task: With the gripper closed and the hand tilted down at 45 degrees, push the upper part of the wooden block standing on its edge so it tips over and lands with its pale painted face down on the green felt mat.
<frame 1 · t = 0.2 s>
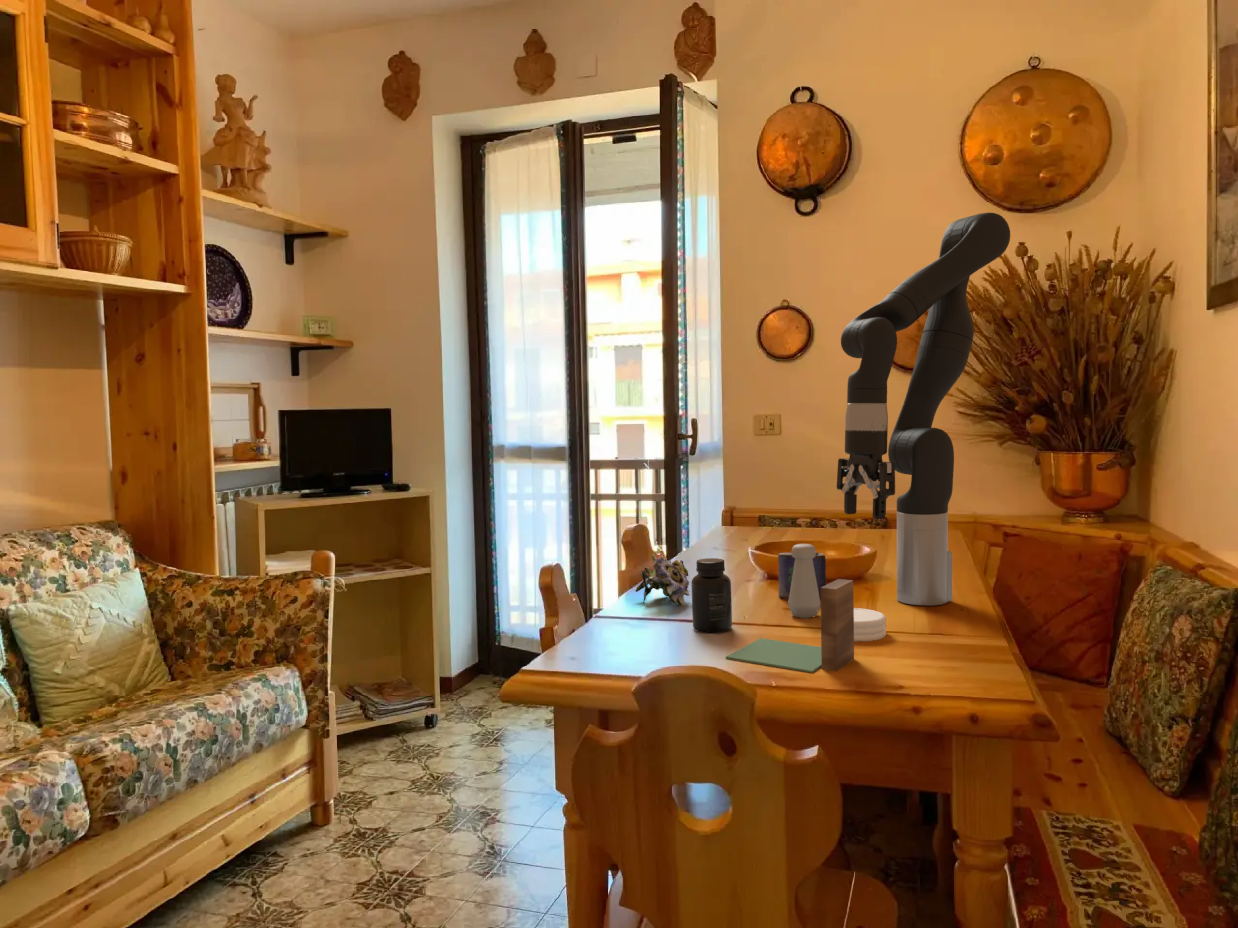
hand: (864, 516, 160), 17 cm above the table, tool pointing down, fingers open, 8 cm apart
supplement bottle: (712, 629, 150), on the table
felt mat: (784, 655, 134), on the table
wooden block: (838, 663, 129), on the table
salt shaker: (804, 616, 158), on the table
passion flower: (662, 604, 170), on the table
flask: (802, 599, 171), on the table
coaster: (854, 635, 145), on the table
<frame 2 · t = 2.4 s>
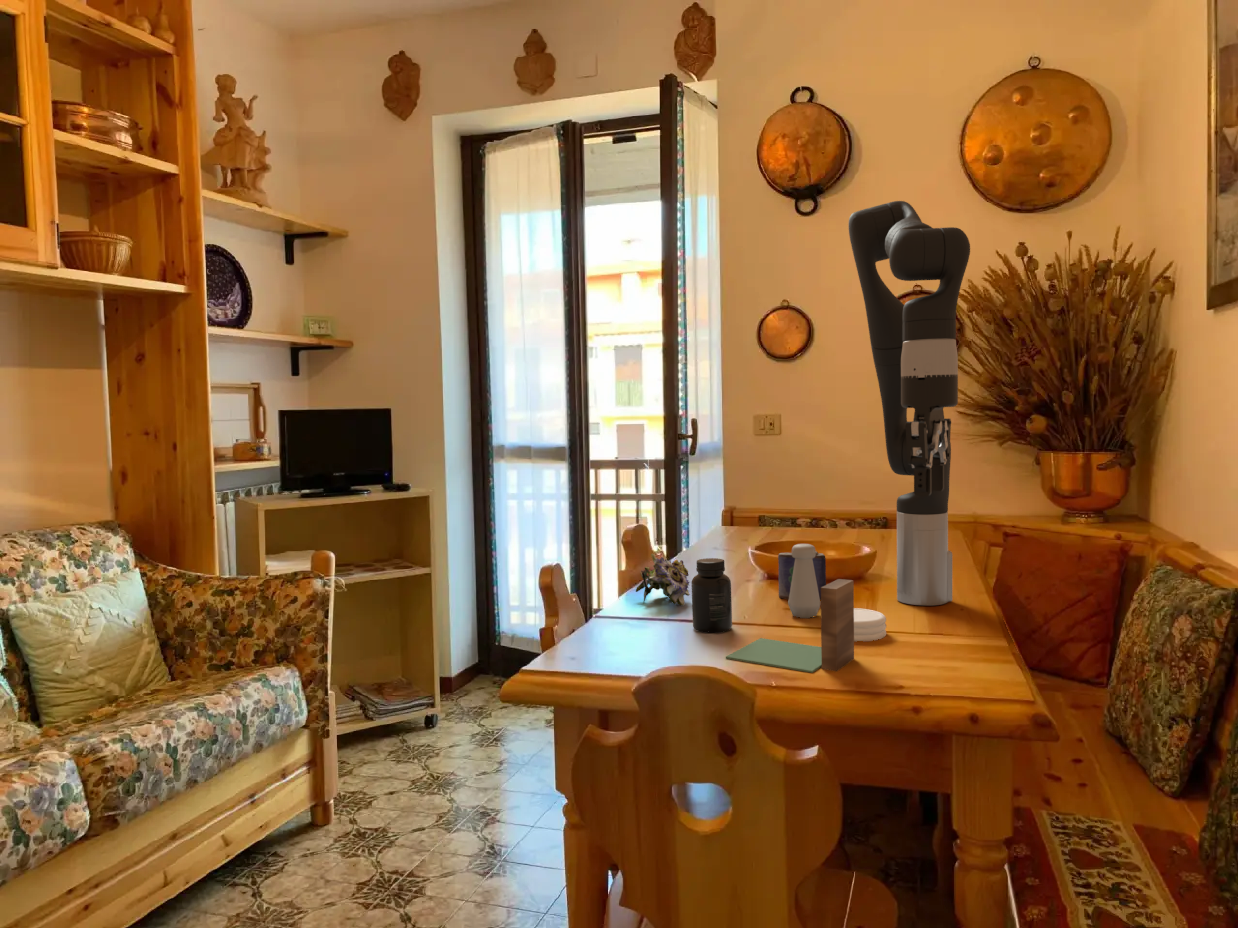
hand: (929, 492, 123), 26 cm above the table, tool pointing down, fingers open, 5 cm apart
nothing on the table moved.
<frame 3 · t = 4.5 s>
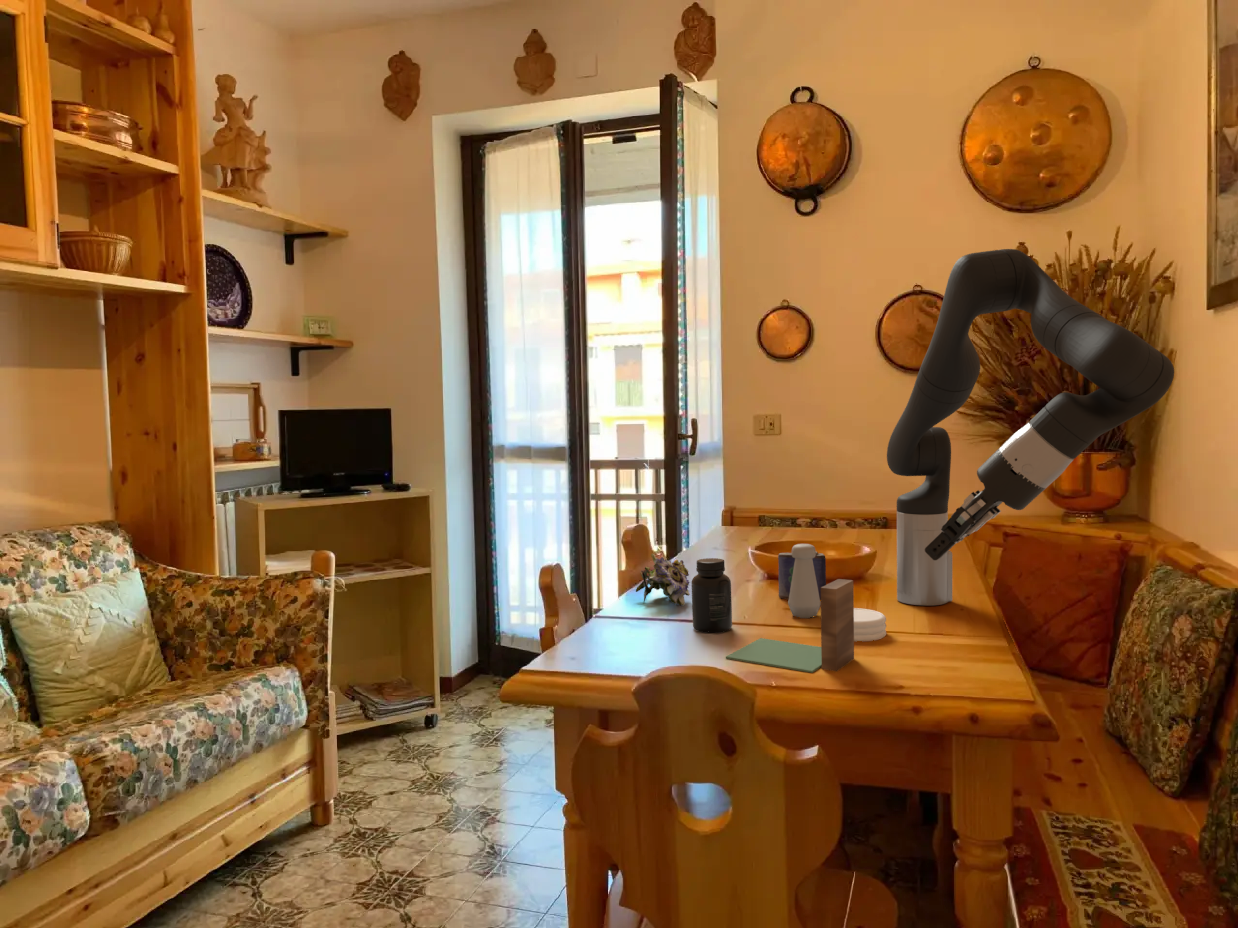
hand: (930, 554, 119), 17 cm above the table, tool tilted 45°, fingers closed
nothing on the table moved.
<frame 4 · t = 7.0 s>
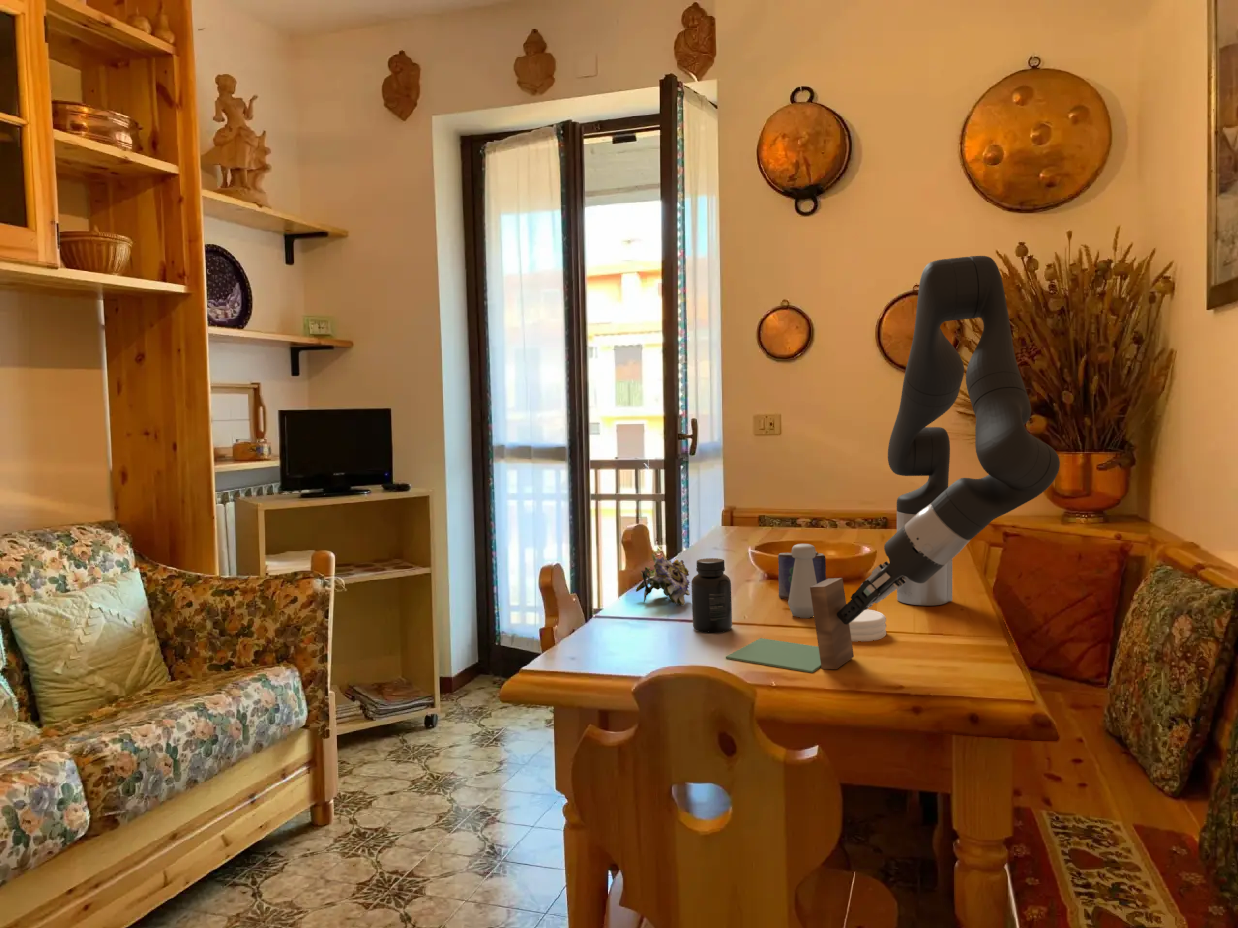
hand: (842, 618, 128), 7 cm above the table, tool tilted 45°, fingers closed
wooden block: (838, 662, 129), on the table, tilted 8°
everything else where it was.
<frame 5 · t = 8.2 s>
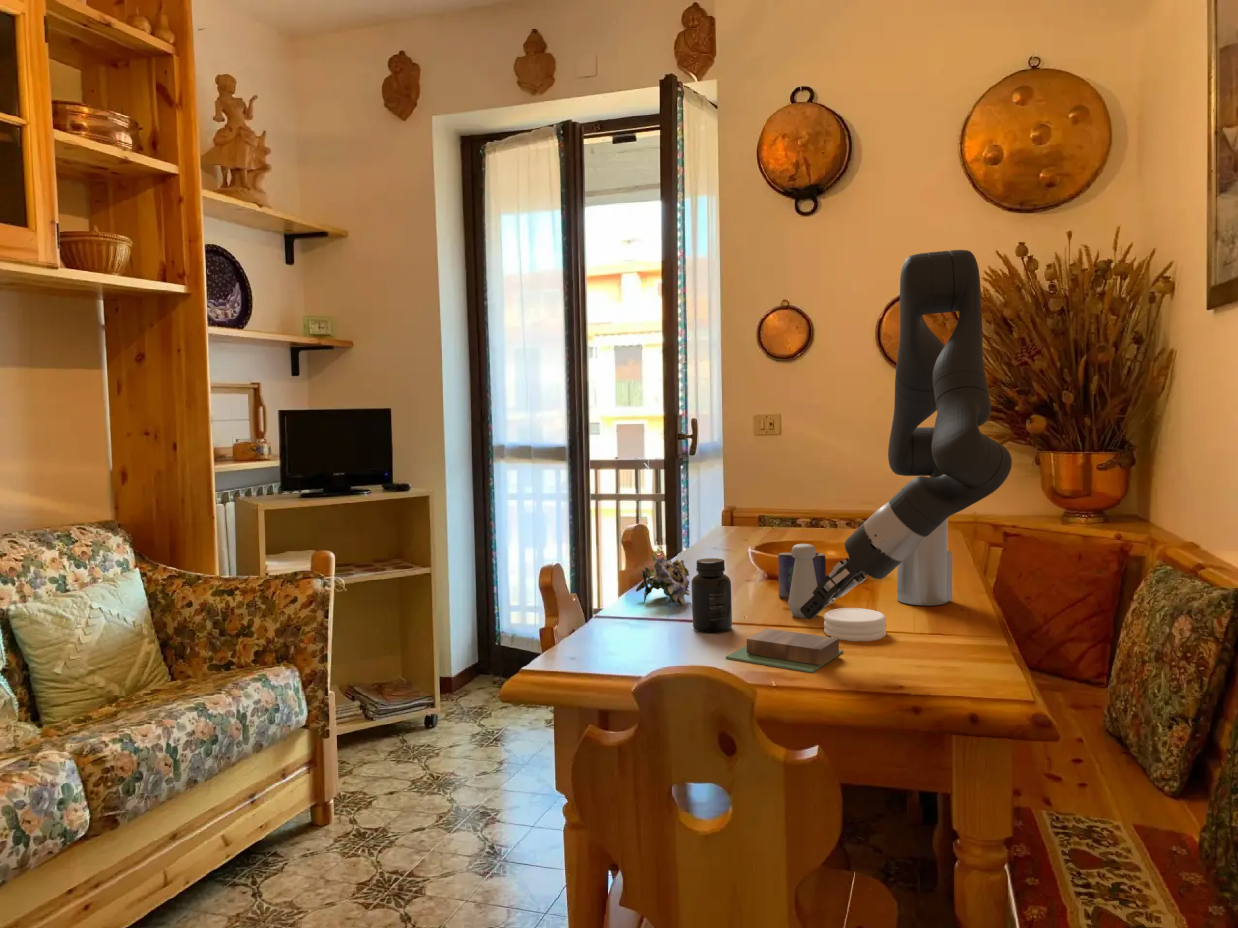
hand: (805, 613, 131), 7 cm above the table, tool tilted 45°, fingers closed
wooden block: (830, 651, 129), point 2 cm above the table, tilted 90°, touching felt mat
everything else where it was.
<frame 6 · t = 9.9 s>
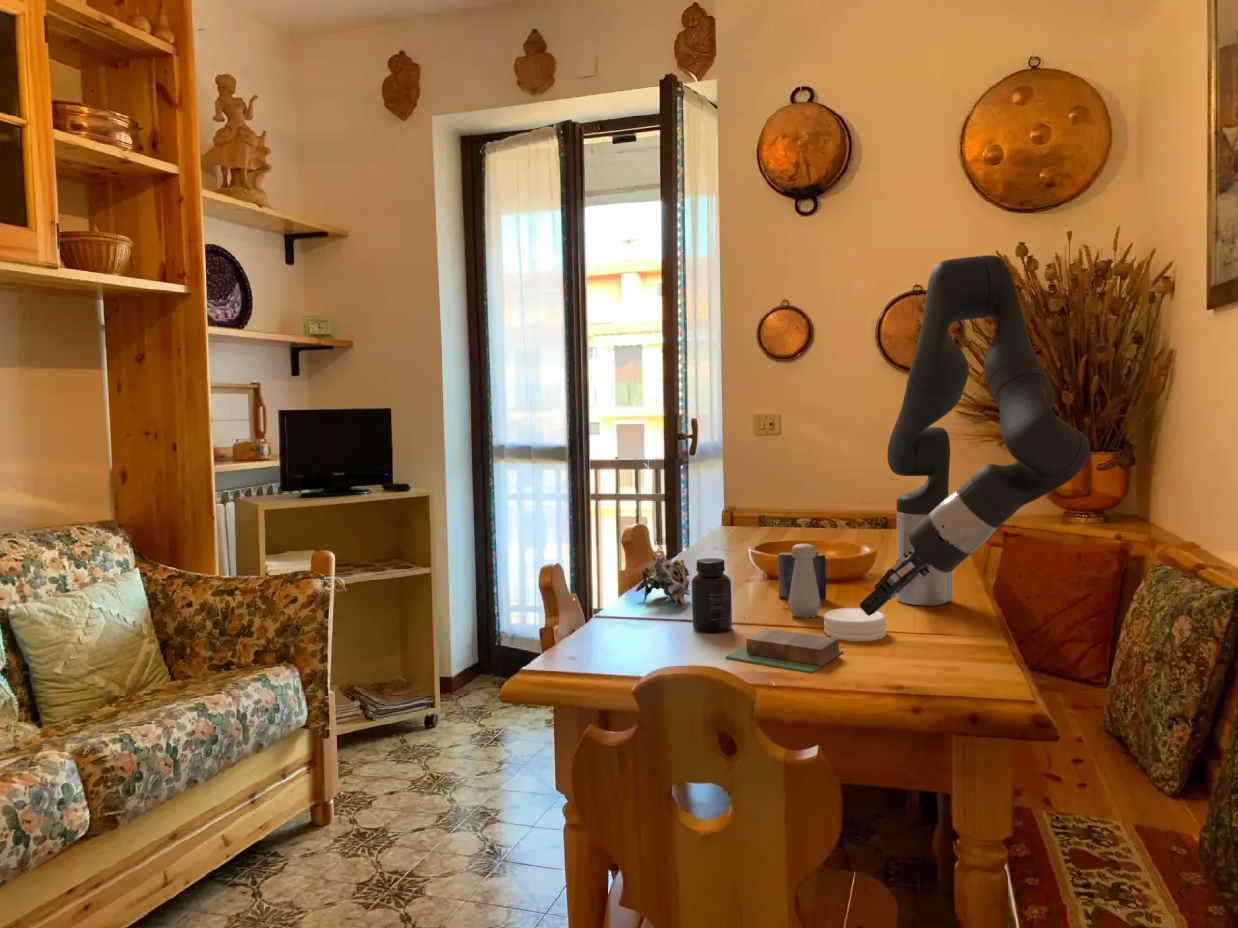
hand: (865, 609, 125), 9 cm above the table, tool tilted 45°, fingers closed
nothing on the table moved.
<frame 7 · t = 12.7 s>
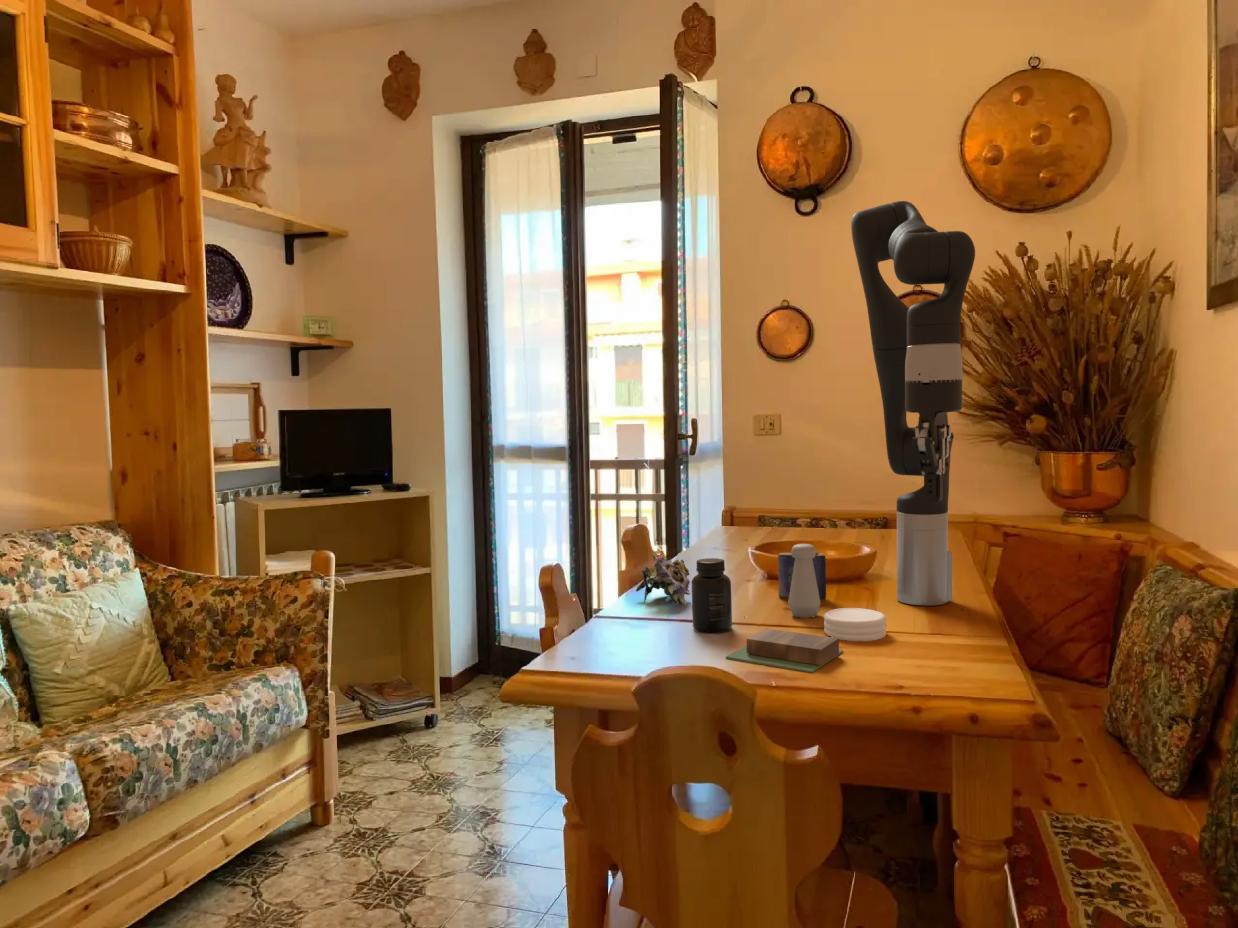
hand: (933, 500, 123), 24 cm above the table, tool pointing down, fingers closed
nothing on the table moved.
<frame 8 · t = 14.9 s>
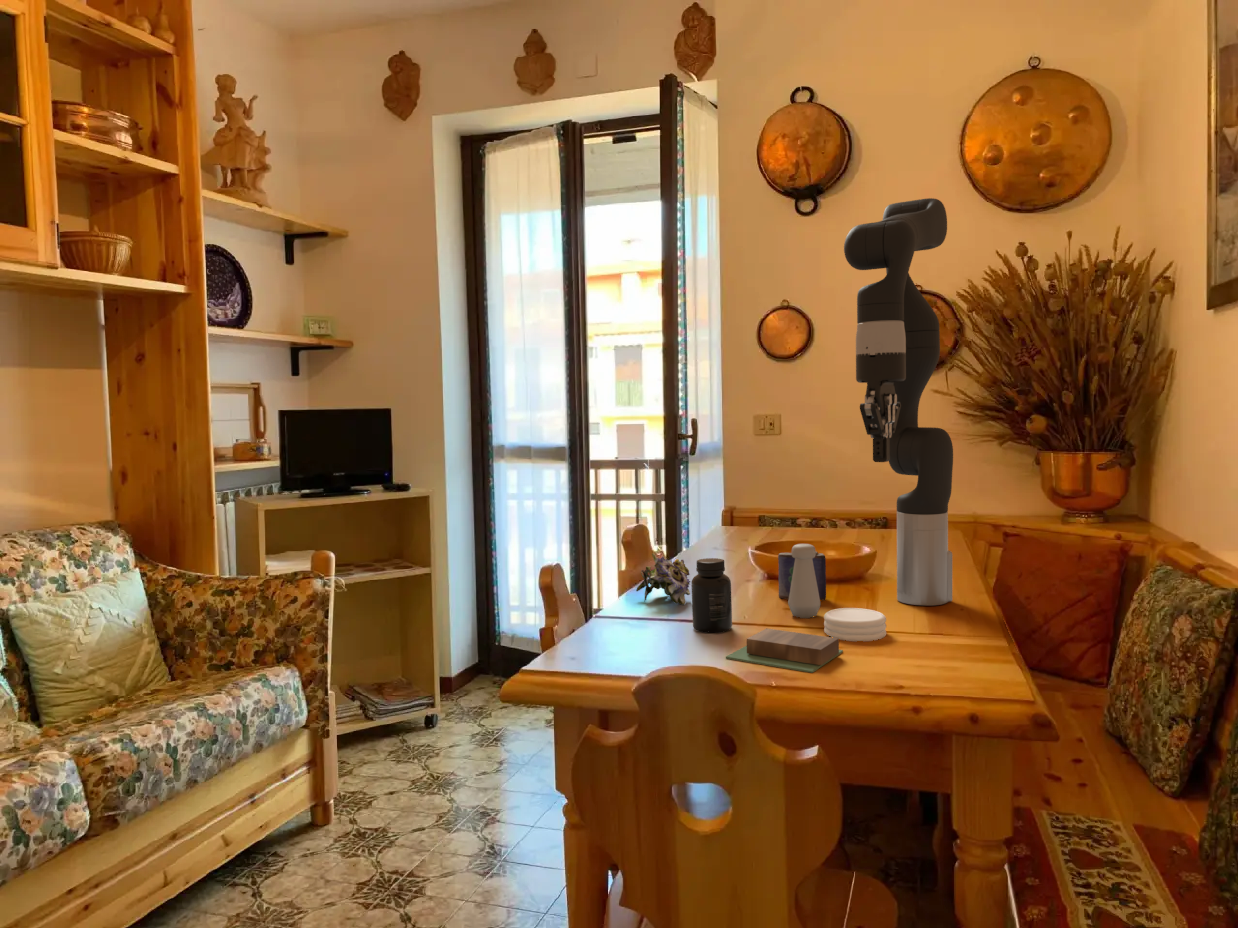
hand: (881, 461, 137), 29 cm above the table, tool pointing down, fingers closed
nothing on the table moved.
at the end: wooden block tilted 90°; wooden block inside the target area (5.7 cm from its centre), point 1.6 cm above the table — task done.
